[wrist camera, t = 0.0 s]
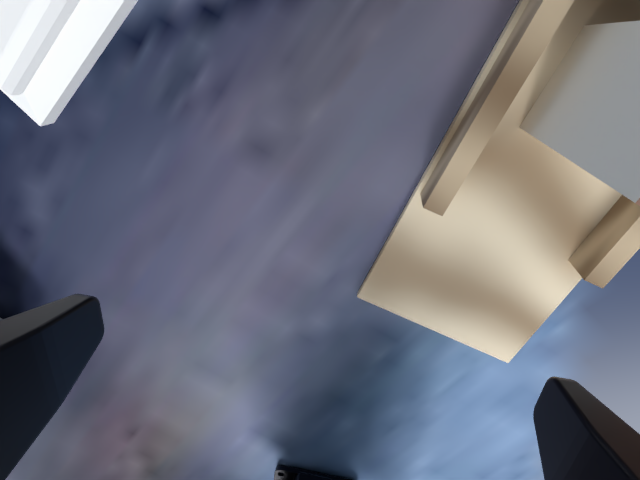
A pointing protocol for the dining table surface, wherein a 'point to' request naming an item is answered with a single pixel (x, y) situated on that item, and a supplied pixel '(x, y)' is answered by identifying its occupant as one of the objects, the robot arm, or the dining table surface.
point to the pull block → (596, 106)
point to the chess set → (53, 49)
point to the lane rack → (506, 202)
